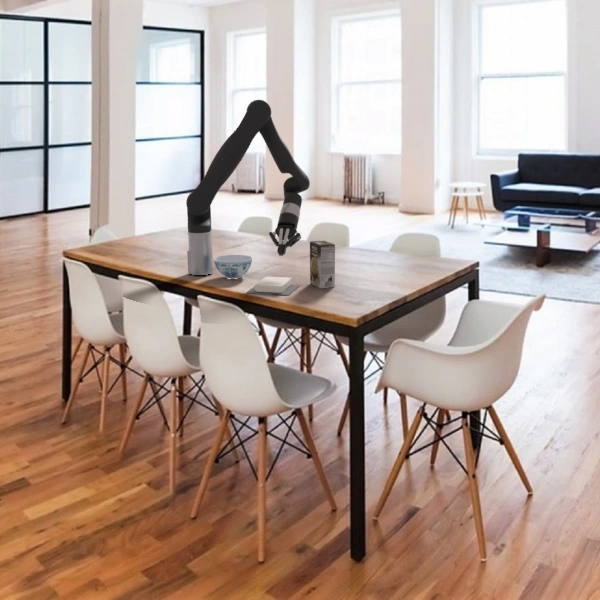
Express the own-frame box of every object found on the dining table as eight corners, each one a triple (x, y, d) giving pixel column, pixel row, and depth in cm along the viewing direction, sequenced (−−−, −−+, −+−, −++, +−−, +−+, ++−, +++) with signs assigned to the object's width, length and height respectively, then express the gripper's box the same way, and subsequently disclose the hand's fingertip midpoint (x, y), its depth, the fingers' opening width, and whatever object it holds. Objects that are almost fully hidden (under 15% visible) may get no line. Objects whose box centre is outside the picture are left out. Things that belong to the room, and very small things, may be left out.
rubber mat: (245, 293, 258) (245, 292, 258) (258, 284, 272) (258, 283, 272) (289, 295, 254) (289, 294, 254) (299, 286, 269) (299, 285, 268)
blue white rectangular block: (266, 283, 272) (255, 292, 259) (266, 276, 272) (255, 284, 258) (292, 284, 270) (282, 293, 257) (292, 277, 269) (281, 286, 256)
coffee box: (309, 283, 272) (309, 241, 268) (324, 282, 274) (324, 240, 270) (319, 288, 264) (319, 245, 260) (335, 287, 266) (335, 243, 262)
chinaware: (206, 279, 281) (205, 260, 279) (228, 272, 294) (227, 253, 292) (239, 283, 274) (238, 263, 272) (259, 275, 287) (259, 256, 285)
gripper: (270, 211, 278) (261, 248, 270) (303, 211, 275) (295, 249, 266) (274, 222, 284) (266, 259, 276) (307, 223, 281) (299, 260, 272)
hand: (280, 254), depth 271 cm, fingers closed
